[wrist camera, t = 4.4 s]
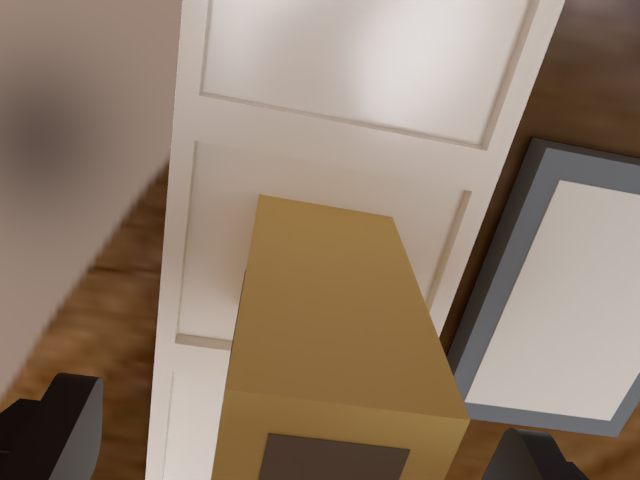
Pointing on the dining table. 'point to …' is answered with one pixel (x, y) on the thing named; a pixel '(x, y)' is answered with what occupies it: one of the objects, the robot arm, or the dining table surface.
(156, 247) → the dining table surface
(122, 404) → the dining table surface
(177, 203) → the dish mid
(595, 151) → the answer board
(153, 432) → the white panel
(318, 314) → the tan rectangular block
